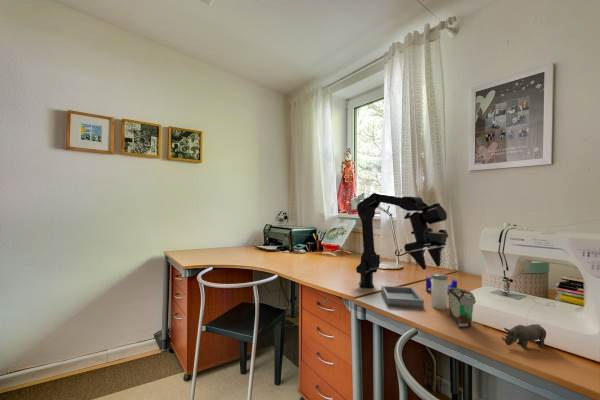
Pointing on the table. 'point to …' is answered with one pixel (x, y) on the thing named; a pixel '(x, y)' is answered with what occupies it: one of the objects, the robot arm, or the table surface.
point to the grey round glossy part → (439, 290)
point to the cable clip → (428, 284)
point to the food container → (461, 307)
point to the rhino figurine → (526, 335)
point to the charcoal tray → (402, 297)
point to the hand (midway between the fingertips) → (431, 267)
